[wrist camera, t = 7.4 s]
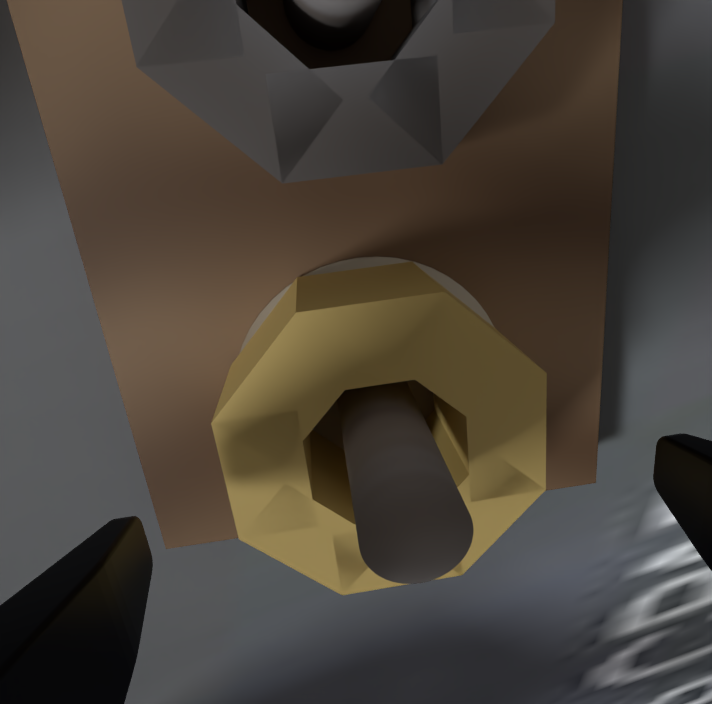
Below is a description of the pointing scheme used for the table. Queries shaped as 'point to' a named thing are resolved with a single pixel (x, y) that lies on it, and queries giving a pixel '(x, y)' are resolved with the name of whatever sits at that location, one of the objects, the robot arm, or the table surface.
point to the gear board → (333, 215)
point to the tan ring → (362, 369)
